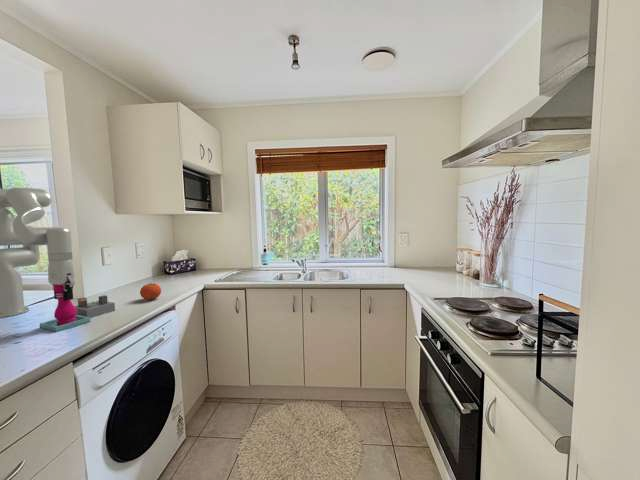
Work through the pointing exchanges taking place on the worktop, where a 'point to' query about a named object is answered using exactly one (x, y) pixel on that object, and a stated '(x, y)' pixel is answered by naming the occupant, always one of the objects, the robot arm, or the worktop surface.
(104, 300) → the block
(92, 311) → the breaker panel
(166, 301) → the worktop surface
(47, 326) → the tray
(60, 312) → the pepper mill
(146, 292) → the tomato
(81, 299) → the tagged breaker
